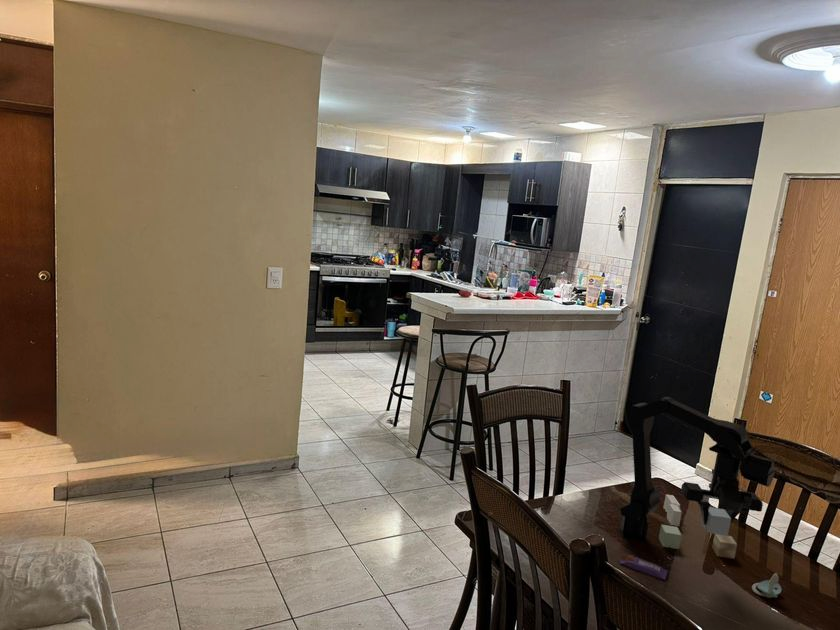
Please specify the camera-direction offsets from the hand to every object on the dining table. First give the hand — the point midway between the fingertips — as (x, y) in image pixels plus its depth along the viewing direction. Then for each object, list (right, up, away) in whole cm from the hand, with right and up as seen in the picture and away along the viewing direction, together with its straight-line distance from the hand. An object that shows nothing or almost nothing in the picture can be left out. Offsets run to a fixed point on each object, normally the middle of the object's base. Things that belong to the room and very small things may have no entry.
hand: (715, 525), depth 154 cm
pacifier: (+10, -16, -5) cm, 19 cm away
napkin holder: (+1, -9, +30) cm, 32 cm away
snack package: (-19, -12, 0) cm, 23 cm away
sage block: (-6, -10, +14) cm, 18 cm away
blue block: (0, -1, 0) cm, 1 cm away
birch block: (+8, -12, +12) cm, 19 cm away
